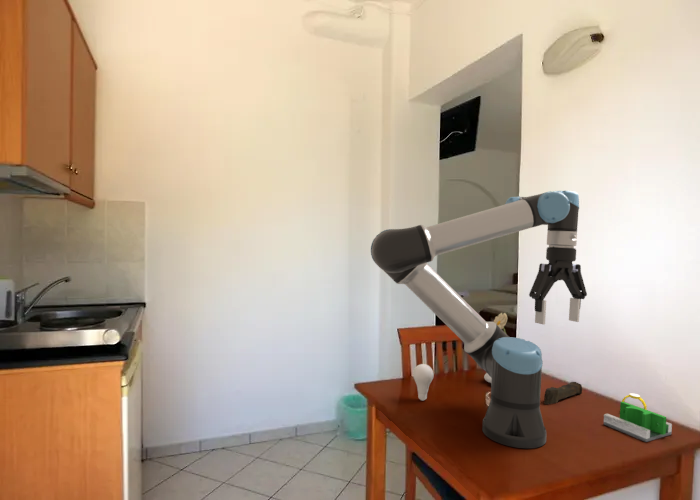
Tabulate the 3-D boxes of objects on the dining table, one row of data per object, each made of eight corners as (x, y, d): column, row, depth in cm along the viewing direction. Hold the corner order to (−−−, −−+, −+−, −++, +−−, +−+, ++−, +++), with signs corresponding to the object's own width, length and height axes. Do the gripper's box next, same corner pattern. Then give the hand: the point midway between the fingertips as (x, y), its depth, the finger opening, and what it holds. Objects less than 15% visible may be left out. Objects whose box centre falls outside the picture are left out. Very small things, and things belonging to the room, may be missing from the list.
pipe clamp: (613, 419, 120) (614, 403, 120) (622, 417, 122) (622, 401, 122) (656, 436, 110) (657, 418, 110) (665, 434, 112) (666, 416, 112)
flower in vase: (484, 376, 157) (486, 307, 156) (518, 380, 154) (521, 310, 153) (483, 388, 145) (486, 313, 144) (520, 393, 141) (523, 316, 140)
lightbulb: (411, 402, 130) (412, 366, 130) (413, 395, 136) (414, 360, 136) (432, 405, 129) (433, 368, 128) (433, 398, 135) (434, 362, 134)
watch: (646, 417, 125) (649, 397, 125) (643, 420, 123) (646, 400, 123) (622, 409, 129) (625, 390, 129) (619, 412, 128) (622, 392, 127)
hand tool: (570, 391, 145) (570, 378, 144) (582, 395, 141) (582, 381, 141) (535, 402, 134) (536, 387, 134) (548, 407, 131) (548, 391, 131)
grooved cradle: (645, 442, 109) (646, 431, 109) (603, 424, 119) (604, 414, 119) (671, 434, 114) (671, 423, 114) (628, 418, 124) (629, 408, 123)
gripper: (540, 246, 114) (536, 327, 114) (603, 248, 124) (599, 322, 125) (518, 245, 120) (514, 321, 121) (579, 247, 131) (575, 317, 132)
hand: (557, 322), depth 123 cm, fingers open, 13 cm apart
